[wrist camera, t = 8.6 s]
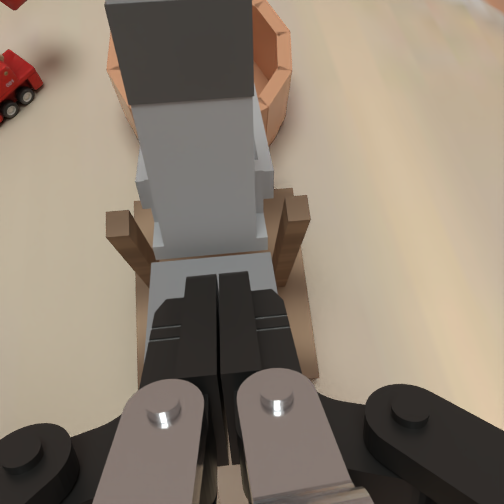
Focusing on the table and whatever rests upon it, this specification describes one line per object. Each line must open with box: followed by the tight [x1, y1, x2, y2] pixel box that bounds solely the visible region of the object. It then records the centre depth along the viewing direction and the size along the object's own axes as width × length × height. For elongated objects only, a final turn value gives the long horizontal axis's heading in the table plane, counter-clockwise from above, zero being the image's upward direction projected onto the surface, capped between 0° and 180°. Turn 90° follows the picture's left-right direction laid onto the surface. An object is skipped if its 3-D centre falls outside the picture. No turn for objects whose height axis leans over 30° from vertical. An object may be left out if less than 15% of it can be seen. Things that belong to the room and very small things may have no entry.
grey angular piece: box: [104, 0, 278, 362], centre depth 19 cm, size 18×6×13 cm, turn 5°
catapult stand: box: [106, 188, 319, 390], centre depth 27 cm, size 14×12×14 cm
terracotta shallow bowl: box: [107, 0, 292, 147], centre depth 35 cm, size 13×13×6 cm
